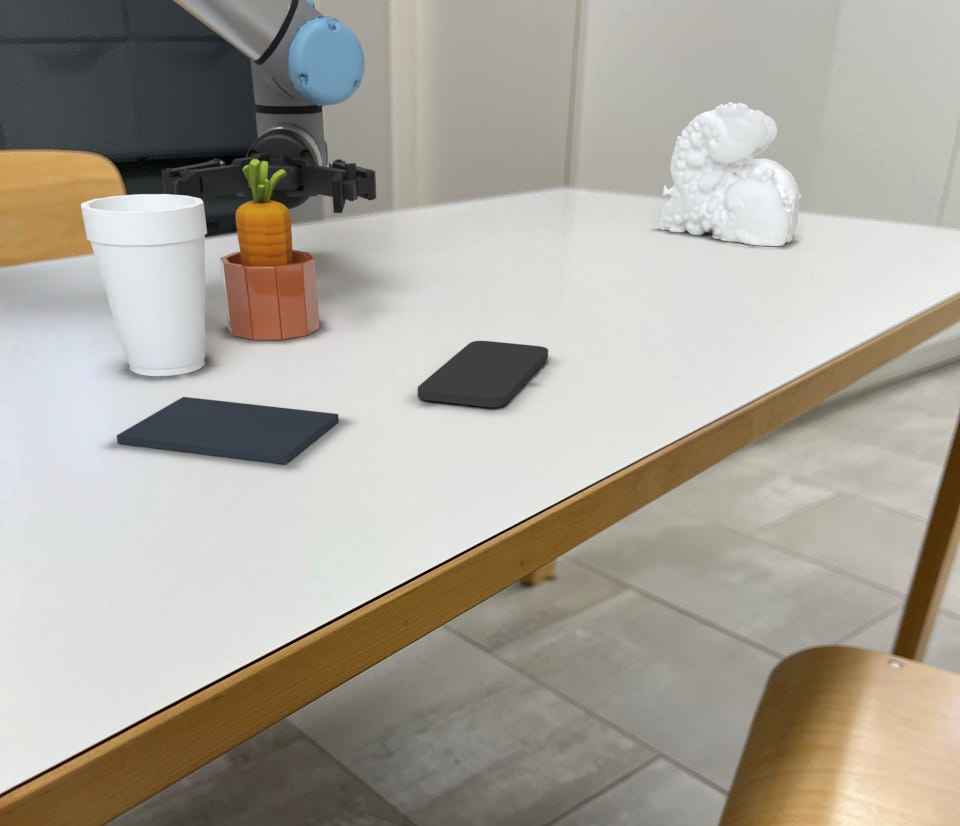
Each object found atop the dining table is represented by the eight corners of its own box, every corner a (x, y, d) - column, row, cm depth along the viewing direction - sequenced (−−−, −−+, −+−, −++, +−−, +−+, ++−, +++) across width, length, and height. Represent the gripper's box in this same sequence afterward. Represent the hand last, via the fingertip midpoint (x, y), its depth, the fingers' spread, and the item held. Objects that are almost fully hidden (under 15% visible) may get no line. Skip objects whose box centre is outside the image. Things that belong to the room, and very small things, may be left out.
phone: (412, 390, 80) (472, 339, 92) (412, 400, 80) (472, 348, 92) (502, 400, 78) (552, 347, 90) (502, 411, 78) (551, 356, 91)
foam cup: (90, 364, 88) (59, 202, 81) (185, 344, 94) (164, 190, 87) (146, 389, 82) (117, 217, 76) (244, 366, 88) (225, 203, 81)
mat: (117, 443, 72) (116, 435, 72) (184, 404, 79) (183, 396, 79) (285, 464, 69) (284, 456, 69) (338, 421, 76) (338, 413, 76)
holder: (212, 336, 96) (203, 264, 93) (255, 314, 103) (248, 246, 100) (294, 343, 94) (287, 270, 91) (332, 320, 101) (327, 251, 98)
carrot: (271, 319, 102) (254, 153, 94) (310, 326, 99) (297, 156, 92) (237, 330, 98) (216, 158, 90) (276, 337, 96) (259, 162, 88)
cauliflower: (837, 178, 126) (712, 76, 126) (731, 311, 137) (617, 218, 138) (851, 169, 141) (740, 78, 142) (754, 289, 153) (652, 205, 153)
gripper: (401, 204, 113) (401, 240, 94) (171, 204, 111) (126, 241, 93) (399, 128, 109) (398, 151, 91) (161, 127, 107) (111, 150, 89)
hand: (260, 197), depth 92 cm, fingers open, 13 cm apart
